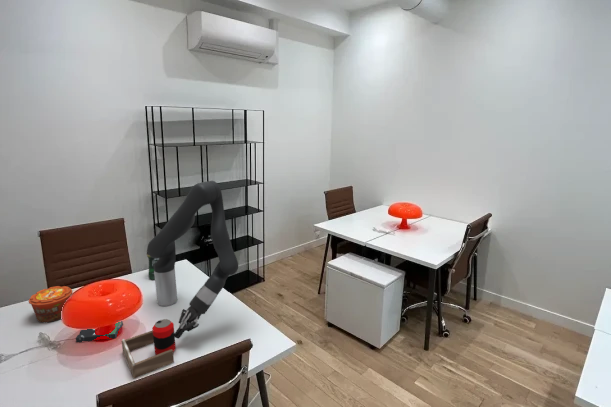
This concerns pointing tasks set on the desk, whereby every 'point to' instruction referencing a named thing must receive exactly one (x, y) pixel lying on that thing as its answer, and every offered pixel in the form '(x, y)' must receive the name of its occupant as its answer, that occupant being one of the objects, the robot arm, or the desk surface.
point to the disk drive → (90, 335)
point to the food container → (50, 303)
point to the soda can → (163, 336)
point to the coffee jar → (151, 266)
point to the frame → (149, 363)
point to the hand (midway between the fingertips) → (176, 337)
